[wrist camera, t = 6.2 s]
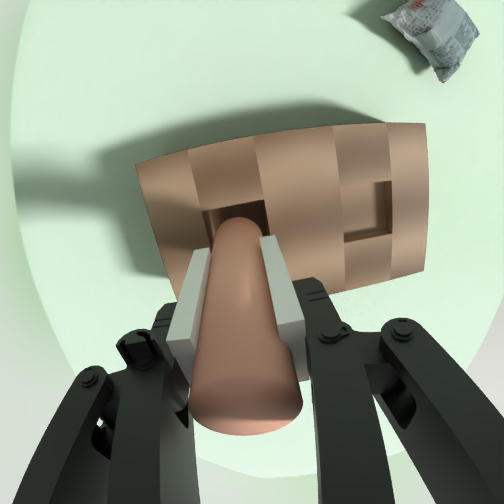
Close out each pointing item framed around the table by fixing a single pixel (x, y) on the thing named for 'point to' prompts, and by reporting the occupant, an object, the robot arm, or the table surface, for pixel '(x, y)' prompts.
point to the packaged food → (436, 32)
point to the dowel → (241, 343)
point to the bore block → (301, 200)
